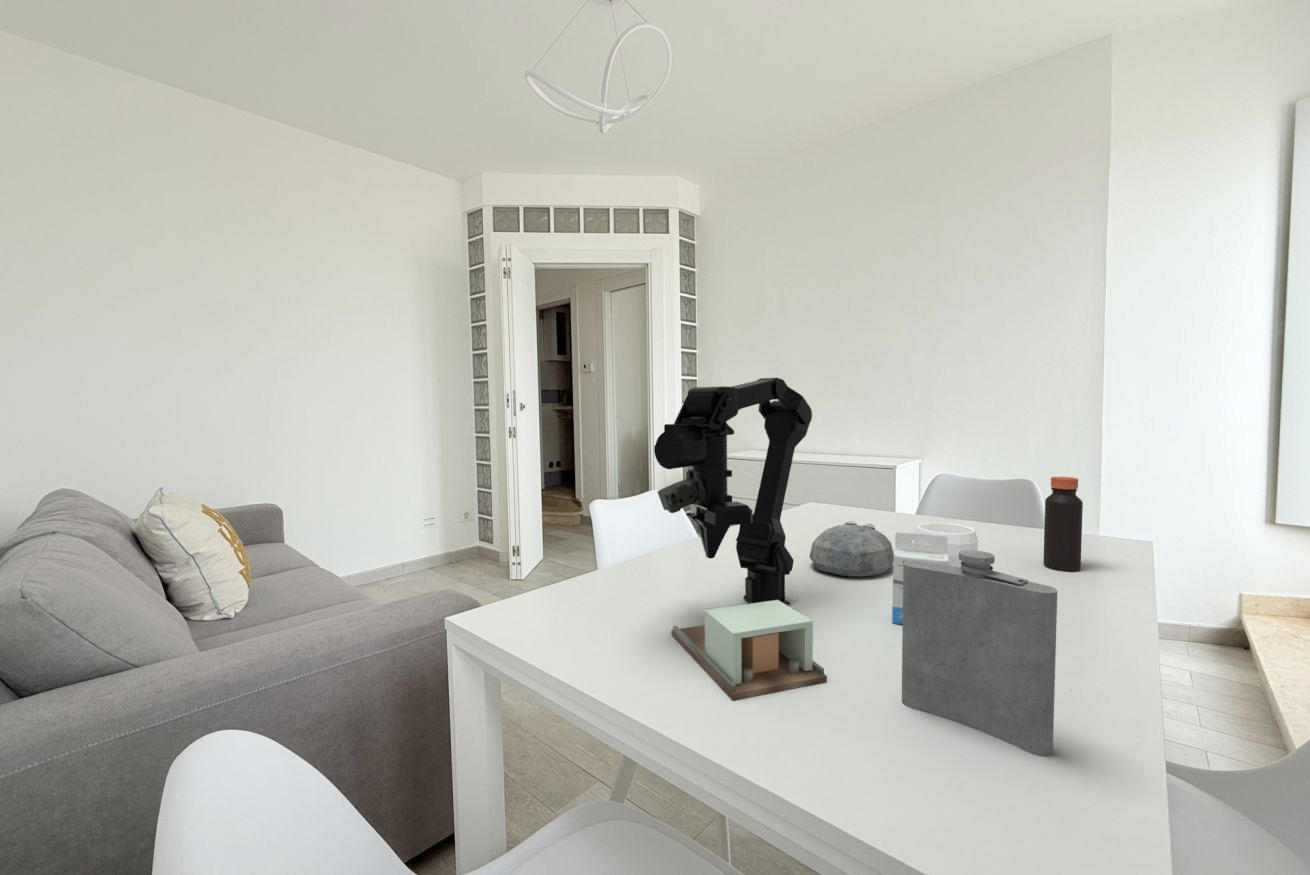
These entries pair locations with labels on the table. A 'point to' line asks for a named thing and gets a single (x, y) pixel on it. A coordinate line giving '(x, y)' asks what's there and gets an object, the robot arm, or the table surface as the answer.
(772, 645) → the block
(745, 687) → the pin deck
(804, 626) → the housing
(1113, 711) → the table surface
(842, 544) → the decorative stone
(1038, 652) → the hip flask
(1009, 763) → the table surface
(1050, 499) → the bottle
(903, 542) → the ink box
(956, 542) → the cup
